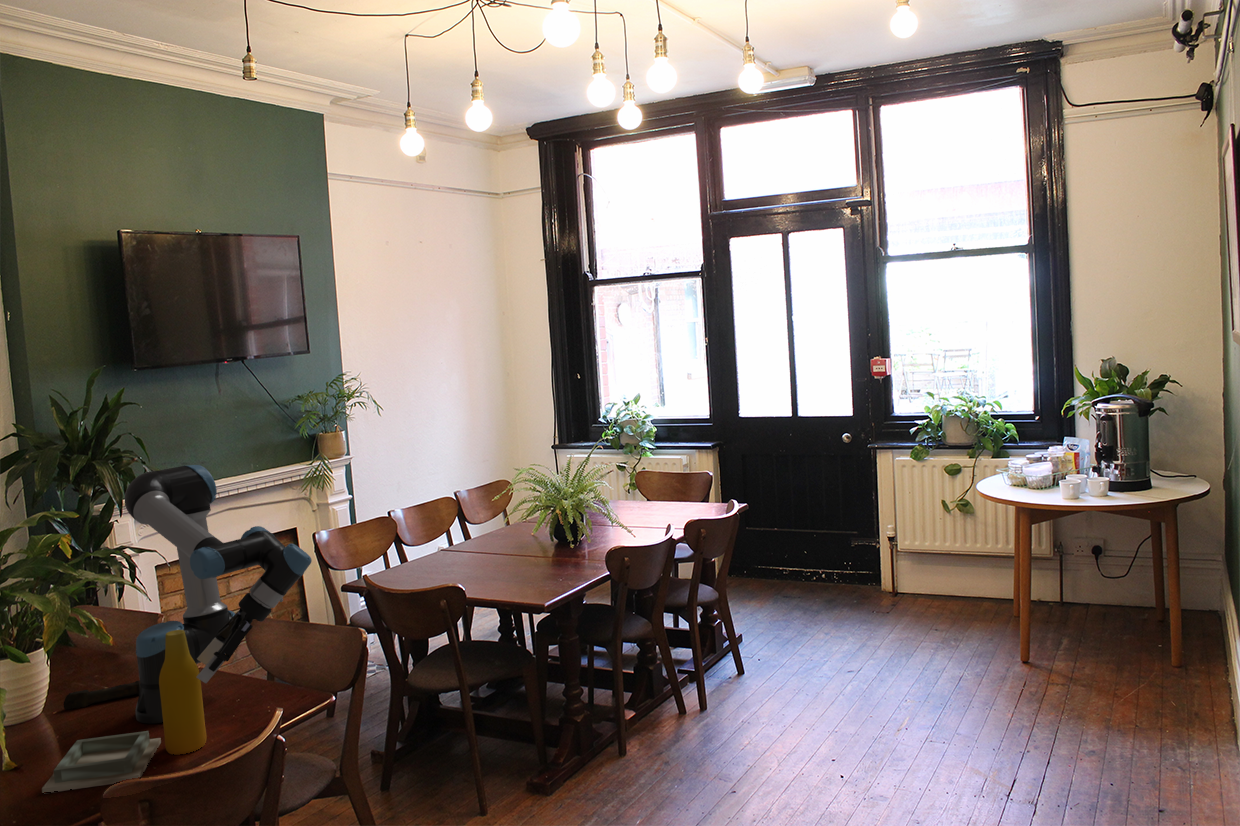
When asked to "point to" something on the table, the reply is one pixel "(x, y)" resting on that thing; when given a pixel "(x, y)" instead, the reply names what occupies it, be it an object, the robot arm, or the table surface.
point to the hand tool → (100, 695)
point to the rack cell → (103, 761)
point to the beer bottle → (181, 697)
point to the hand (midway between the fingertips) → (201, 670)
